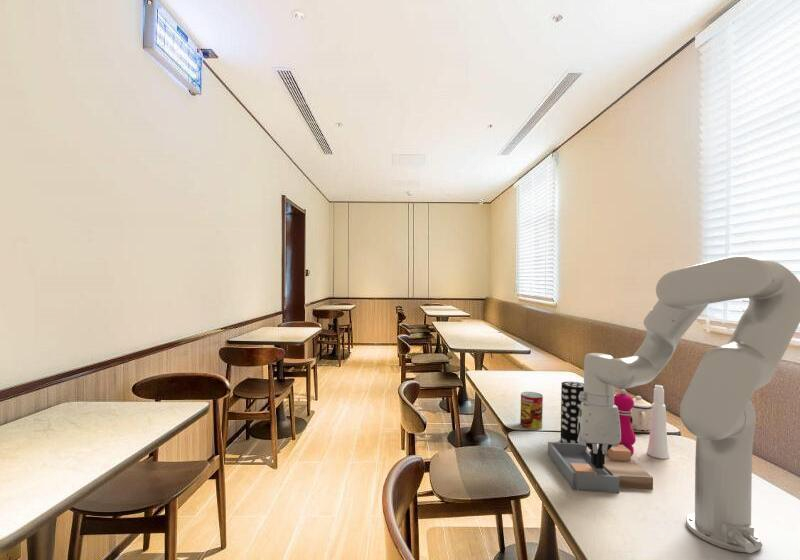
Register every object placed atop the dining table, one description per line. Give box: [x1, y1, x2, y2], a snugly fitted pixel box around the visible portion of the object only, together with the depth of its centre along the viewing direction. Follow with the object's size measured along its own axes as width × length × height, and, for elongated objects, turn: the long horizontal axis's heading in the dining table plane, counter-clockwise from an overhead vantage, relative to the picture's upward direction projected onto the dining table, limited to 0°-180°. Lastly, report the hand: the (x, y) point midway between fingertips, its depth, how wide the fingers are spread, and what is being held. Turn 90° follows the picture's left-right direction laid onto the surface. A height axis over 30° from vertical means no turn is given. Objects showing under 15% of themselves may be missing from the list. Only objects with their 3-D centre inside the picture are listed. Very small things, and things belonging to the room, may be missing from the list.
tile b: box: [607, 445, 632, 460], centre depth 119 cm, size 5×5×2 cm
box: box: [547, 441, 620, 494], centre depth 115 cm, size 22×12×4 cm, turn 176°
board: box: [589, 450, 654, 490], centre depth 115 cm, size 16×10×3 cm, turn 176°
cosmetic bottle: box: [646, 384, 670, 460], centre depth 128 cm, size 6×6×22 cm
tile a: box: [570, 463, 595, 474], centre depth 111 cm, size 5×5×2 cm
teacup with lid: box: [630, 395, 652, 432], centre depth 153 cm, size 12×9×12 cm
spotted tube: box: [560, 381, 584, 443], centre depth 136 cm, size 8×8×20 cm
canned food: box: [519, 391, 544, 431], centre depth 152 cm, size 8×8×12 cm
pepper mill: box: [614, 388, 637, 455], centre depth 131 cm, size 7×7×20 cm
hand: (597, 466), depth 110 cm, fingers closed
